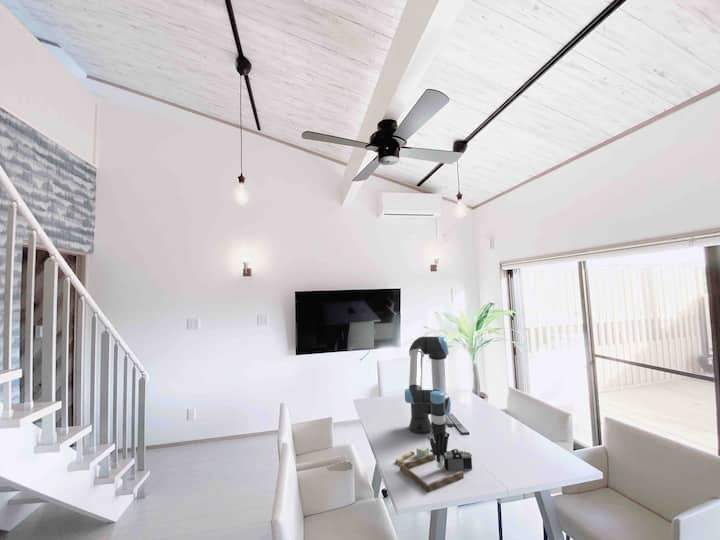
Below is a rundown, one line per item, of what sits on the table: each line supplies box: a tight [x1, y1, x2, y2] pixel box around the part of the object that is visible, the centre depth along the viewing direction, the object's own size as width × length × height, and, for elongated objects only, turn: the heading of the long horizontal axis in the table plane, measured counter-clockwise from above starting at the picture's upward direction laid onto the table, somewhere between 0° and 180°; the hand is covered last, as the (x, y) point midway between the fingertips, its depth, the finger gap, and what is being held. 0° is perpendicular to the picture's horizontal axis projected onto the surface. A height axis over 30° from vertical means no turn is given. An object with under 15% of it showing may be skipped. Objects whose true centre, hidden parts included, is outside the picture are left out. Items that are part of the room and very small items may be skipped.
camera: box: [443, 448, 473, 472], centre depth 178 cm, size 16×9×10 cm, turn 89°
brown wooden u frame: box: [399, 453, 464, 493], centre depth 172 cm, size 23×22×3 cm
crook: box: [395, 450, 415, 466], centre depth 186 cm, size 14×7×2 cm, turn 131°
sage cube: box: [416, 445, 430, 459], centre depth 190 cm, size 5×5×5 cm
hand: (440, 467), depth 175 cm, fingers closed
